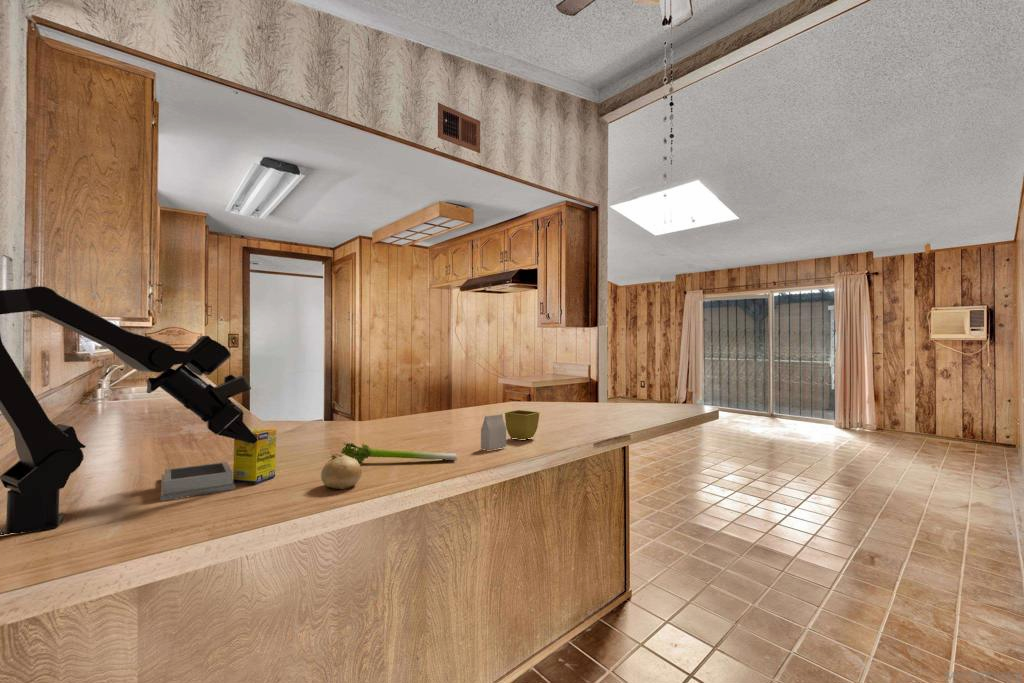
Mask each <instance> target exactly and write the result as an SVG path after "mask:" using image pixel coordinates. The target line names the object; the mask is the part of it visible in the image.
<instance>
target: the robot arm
mask: <svg viewBox="0 0 1024 683" xmlns="http://www.w3.org/2000/svg"><path fill="white" fill-rule="evenodd" d="M24 312H25V313H26V312H31V313H34V314H37V315H39V316H41V317H42V318H45V319H47V320H49V321H50V322H53V323H55V324H57V325H58V326H60V327H64V328H65V329H68V330H69V331H72V332H73V333H76V334H78V335H80V336H82V337H84V338H86V339H89V341H93V342H94V343H97V345H98V344H99V345H100V346H102V347H105V348H107V349H108V350H109V351H111V352H112V353H114V355H115V356H116V357H117V358H118V359H119V360H121V361H122V362H124V363H125V364H127V365H128V366H130V367H131V368H133V369H134V370H136V371H140V372H145V373H160V374H158V375H157V376H156V377H149V378H147V379H146V380H145V381H146V385H147V387H146V393H147V394H152V393H153V392H155V391H156V390H157V389H159V388H160V389H162V390H163V391H164V392H166V393H167V394H168V395H170V396H171V397H172V398H173V399H175V400H176V401H178V402H179V403H181V404H182V405H183V406H184V408H185V409H187V410H190V411H191V412H192V413H194V414H195V416H198V417H199V418H200V419H201V421H203V422H204V423H206V428H207V429H208V430H210V432H212V433H213V434H215V435H217V436H222V437H225V438H229V439H237V440H241V441H245V442H249V443H252V444H254V443H255V442H256V441H257V438H256V437H255V436H254V435H253V433H252V432H251V431H250V430H251V429H250V428H248V426H247V425H246V424H245V423H244V411H243V409H241V408H240V407H239V406H238V405H236V404H235V403H234V402H233V401H232V400H231V399H230V398H233V397H234V396H237V395H239V394H241V393H243V392H244V393H246V392H248V391H250V390H252V388H251V387H252V386H251V385H250V383H249V382H248V379H247V377H246V376H245V375H243V374H242V375H239V376H235V375H233V374H228V375H226V376H224V378H223V379H224V380H223V382H222V383H220V384H218V385H216V386H213V385H212V384H211V383H207V382H206V381H205V380H203V378H201V376H203V375H206V376H210V375H212V374H213V373H214V372H215V371H216V370H218V369H219V367H221V366H222V365H223V364H225V362H226V361H227V360H229V359H230V357H232V356H231V352H230V351H229V349H228V348H227V347H226V346H225V345H222V344H221V343H220V342H218V341H217V340H214V339H212V338H211V337H210V336H209V335H201V336H200V337H199V338H198V339H197V340H196V341H195V343H193V344H192V345H190V346H189V347H188V348H187V349H186V350H176V349H175V348H174V347H173V346H172V345H170V344H168V343H166V342H163V341H161V340H158V339H156V338H155V339H154V338H152V337H149V336H145V335H141V334H137V333H134V332H133V331H129V330H126V329H125V328H123V327H121V326H119V325H117V324H115V323H113V322H111V321H110V320H108V319H105V318H103V317H102V316H100V315H98V314H96V313H94V312H93V311H90V310H89V309H86V308H84V307H82V306H81V305H79V304H77V303H76V302H74V301H71V300H70V299H67V298H66V297H65V296H64V297H63V296H62V295H60V294H58V293H57V292H56V291H55V290H54V289H52V288H49V287H46V286H42V285H41V286H40V285H37V286H32V287H27V288H16V289H0V315H7V314H16V313H24ZM1 336H2V334H1V333H0V412H1V414H2V415H3V417H4V419H5V420H6V421H7V423H8V425H9V426H10V428H11V429H12V431H13V437H14V438H13V439H14V444H15V449H16V453H17V455H18V458H19V460H18V461H17V462H16V463H15V464H13V465H12V466H11V467H9V468H8V469H7V470H5V471H4V472H3V473H2V474H1V475H0V482H1V484H2V485H3V487H4V488H6V489H10V490H7V494H6V495H7V496H6V518H5V520H6V521H5V522H6V523H5V525H4V526H3V527H2V528H1V529H0V535H4V534H10V533H20V534H22V533H21V532H26V533H31V532H30V531H32V532H36V531H37V532H38V531H42V530H43V531H45V530H49V529H54V528H58V527H59V526H60V525H61V523H62V521H64V518H65V517H66V513H65V512H61V513H60V490H61V489H64V488H65V486H67V485H66V484H67V483H68V480H69V478H70V476H71V474H73V473H74V472H76V471H77V469H78V468H79V467H80V466H81V464H82V461H84V457H85V456H84V453H83V450H82V449H85V448H86V447H87V446H86V445H85V444H83V443H81V441H80V440H79V438H78V436H77V433H76V429H75V428H74V426H71V425H67V424H63V423H62V424H61V423H57V424H56V425H55V423H53V422H52V421H51V420H50V418H49V416H48V415H47V414H46V413H45V411H44V409H43V407H42V405H41V404H40V402H39V401H38V399H37V397H36V395H35V394H34V393H33V390H32V389H31V387H30V385H29V384H28V382H27V381H26V379H25V378H24V376H23V374H22V373H21V371H20V370H19V368H18V367H17V365H16V363H15V362H14V360H13V358H12V357H11V355H10V354H9V352H8V350H7V349H6V347H5V345H4V344H3V340H2V337H1ZM176 365H179V366H177V367H176V368H175V369H174V368H173V367H174V366H176ZM1 533H2V534H1Z"/></svg>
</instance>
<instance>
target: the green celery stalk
mask: <svg viewBox="0 0 1024 683" xmlns="http://www.w3.org/2000/svg"><path fill="white" fill-rule="evenodd" d="M342 444H343V446H344V447H342V449H341V450H340V451H341V452H340V453H343V454H344V455H346V456H349V457H351V458H353V459H355V460H356V461H357V462H358V463H359V464H361V463H362V464H363V463H364V460H365V459H368V458H394V459H396V458H400V459H416V460H419V459H420V460H421V459H422V460H435V459H445V460H444V461H457V459H458V457H457V453H449V452H448V453H447V452H424V451H422V452H421V451H402V450H401V451H400V450H386V449H374V448H371V447H370V446H369V445H367V444H365V443H362V445H361V447H360V446H356V445H355V444H354V443H352V442H351V443H347V442H342ZM362 464H361V465H362Z"/></svg>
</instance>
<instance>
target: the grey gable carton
mask: <svg viewBox="0 0 1024 683" xmlns="http://www.w3.org/2000/svg"><path fill="white" fill-rule="evenodd" d="M504 420H505V419H504V416H503V414H502V413H500V414H499V413H498V414H493V415H485V416H484V419H483V422H482V425H481V428H480V449H481V448H482V449H485V450H489V451H490V450H494V449H498V448H503V447H506V448H507V428H506V422H505V421H504Z"/></svg>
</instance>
